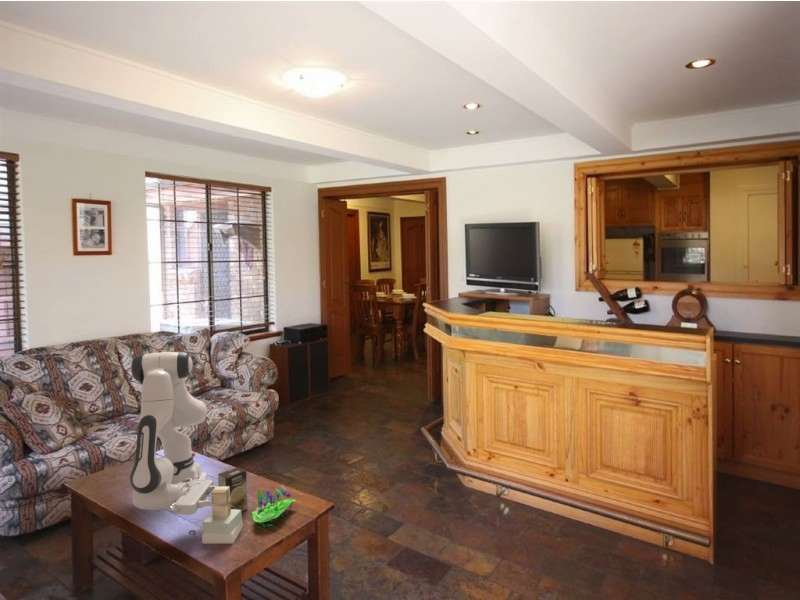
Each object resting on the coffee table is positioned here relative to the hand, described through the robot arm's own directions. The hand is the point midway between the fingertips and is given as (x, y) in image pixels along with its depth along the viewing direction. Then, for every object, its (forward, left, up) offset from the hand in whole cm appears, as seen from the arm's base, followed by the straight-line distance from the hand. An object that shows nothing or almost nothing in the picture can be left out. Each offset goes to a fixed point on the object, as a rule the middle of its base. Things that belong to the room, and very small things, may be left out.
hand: (217, 496), depth 195 cm
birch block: (0, +1, -7) cm, 8 cm away
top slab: (0, +1, -12) cm, 12 cm away
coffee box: (-18, 0, -15) cm, 23 cm away
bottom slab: (0, +1, -16) cm, 16 cm away
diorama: (-12, +17, -15) cm, 26 cm away
